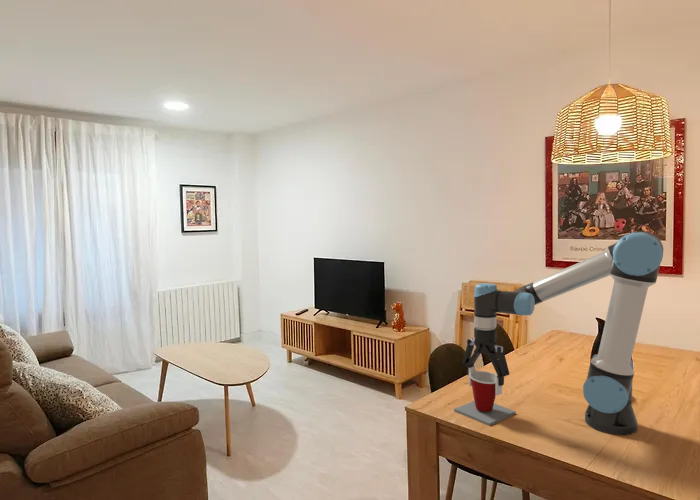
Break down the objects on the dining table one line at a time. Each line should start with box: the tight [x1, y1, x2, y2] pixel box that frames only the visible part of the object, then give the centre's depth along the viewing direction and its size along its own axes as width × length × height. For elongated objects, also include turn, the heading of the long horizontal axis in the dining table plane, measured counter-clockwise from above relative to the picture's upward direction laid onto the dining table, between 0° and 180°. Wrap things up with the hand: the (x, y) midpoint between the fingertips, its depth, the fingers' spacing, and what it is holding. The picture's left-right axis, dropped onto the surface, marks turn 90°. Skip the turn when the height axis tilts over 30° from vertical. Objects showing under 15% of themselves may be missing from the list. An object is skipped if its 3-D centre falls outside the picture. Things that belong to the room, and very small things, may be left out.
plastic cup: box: [468, 370, 497, 412], centre depth 163 cm, size 11×11×12 cm
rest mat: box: [453, 400, 517, 426], centre depth 164 cm, size 15×15×1 cm
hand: (484, 389), depth 163 cm, fingers closed on plastic cup, 10 cm apart
